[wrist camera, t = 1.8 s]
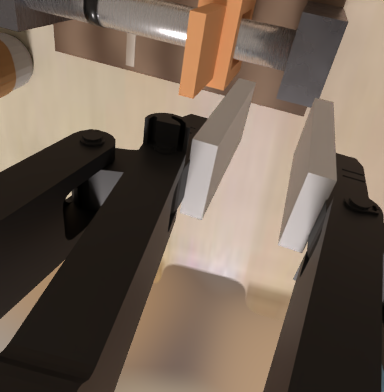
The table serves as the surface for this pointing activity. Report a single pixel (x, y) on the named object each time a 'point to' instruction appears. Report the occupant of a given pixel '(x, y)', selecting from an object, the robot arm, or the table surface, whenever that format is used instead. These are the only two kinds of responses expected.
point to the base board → (182, 50)
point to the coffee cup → (13, 64)
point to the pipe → (177, 31)
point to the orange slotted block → (212, 44)
